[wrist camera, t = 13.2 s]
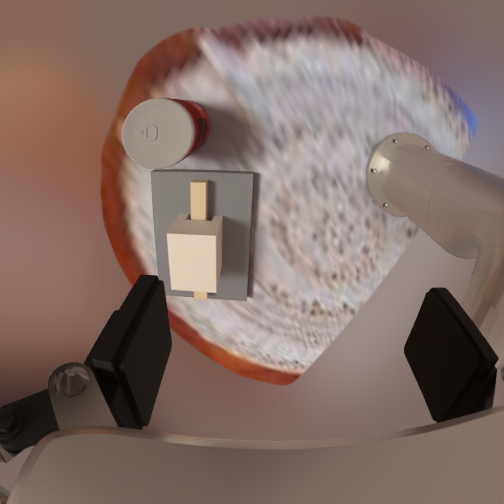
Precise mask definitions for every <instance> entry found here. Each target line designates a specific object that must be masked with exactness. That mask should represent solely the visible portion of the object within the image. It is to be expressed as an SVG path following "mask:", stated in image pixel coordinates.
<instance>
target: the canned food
mask: <svg viewBox="0 0 504 504" xmlns="http://www.w3.org/2000/svg"><path fill="white" fill-rule="evenodd" d="M209 129H210V127H209V120H208V117H207V115H206V113H205V111H204V110H203V109H202V108H201V107H200V106H199V105H197V104H195V103H193V102H190V101H187V100H179V99H170V98H155V99H150V100H147V101H144V102H142V103H140V104H139V105H137V106H136V107H135V108H134V109H133V110H132V111H131V112H130V113H129V114H128V116H127V118H126V120H125V122H124V125H123V129H122V141H123V145H124V148H125V150H126V152H127V154H128V155H129V156H130V157H131V159H132V160H134V161H135V162H136V163H137V164H139V165H141V166H143V167H146V168H150V169H163V168H167V167H171V166H173V165H175V164H177V163H179V162H180V161H182V160H183V159H185V158H186V157H187V156H189V155H190V154H192V153H193V152H194V151H196V150H197V149H199V148H200V147H201V146H202V145H203V144H204V142H205V141H206V139H207V137H208V134H209Z"/></svg>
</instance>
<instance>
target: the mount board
mask: <svg viewBox="0 0 504 504" xmlns="http://www.w3.org/2000/svg"><path fill="white" fill-rule="evenodd" d="M253 174H254V172H245V171H222V170H153V171H151V184H152V203H153V219H154V232H155V244H156V255H157V265H158V274H159V280H163V282H164V287H165V295H172V296H184V297H194V299H203V300H207V298H210V299H225V300H241V301H247V285H248V266H249V247H250V229H251V210H252V192H253ZM180 214H189V220H202V221H212V219H213V216H214V215H218V216H223V219H222V269H221V274H220V278H219V283H218V288H217V292H216V293H211V292H196V291H183V290H171V279H170V269H169V257H168V244H167V232H168V231H169V229H170V228H171V227H172V225H173V224H174V222H175V221H176V219H177V218H178V216H179V215H180Z"/></svg>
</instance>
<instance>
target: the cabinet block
mask: <svg viewBox="0 0 504 504" xmlns="http://www.w3.org/2000/svg"><path fill="white" fill-rule="evenodd" d="M222 219H223V216H218V215H214V216H213V219H212V221H202V220H189V214H180V215H179V216H178V218H177V219H176V221H175V222H174V224H173V225H172V227H171V228H170V229H169V231H168V232H167V244H168V257H169V269H170V279H171V290H183V291H196V292H211V293H216V292H217V288H218V283H219V278H220V274H221V269H222Z"/></svg>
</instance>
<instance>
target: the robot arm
mask: <svg viewBox="0 0 504 504" xmlns="http://www.w3.org/2000/svg"><path fill="white" fill-rule="evenodd" d="M393 139H394V142H393ZM425 146H426V148H425ZM372 168H373V171H371V169H372ZM366 181H367V187H368V190H369V193H370V195H371V197H372V198H373V200H374V202H375V203H376V204H377V205H378V206H379V207H380V208H381V209H382V210H384V211H385V212H387V213H389V214H391V215H394V216H400V217H406V216H407V217H408V218H409V219H410V220H412V221H413V222H414V223H415V224H416V225H417V226H419V227H420V228H421V229H422V230H423V231H424V232H425V233H426V234H428V235H429V236H430V237H431V238H432V239H433V240H434V241H435V242H436V243H438V244H439V245H440V246H441V247H442V248H443V249H444V250H446V251H447V252H448V253H450V254H452V255H454V256H456V257H460V258H465V259H472V258H477V261H476V264H475V268H474V270H473V273H472V277H471V280H470V283H469V285H468V288H467V290H466V293H465V295H464V298H463V300H462V302H461V305H460V304H459V303H458V302H457V301H456V299H455V298H454V297H453V296H452V294H450V292H449V291H448V290H447V289H446V288H432V289H430V291H429V292H427V293H426V295H425V298H424V301H423V303H422V306H421V308H420V311H419V313H418V316H417V318H416V321H415V323H414V325H413V328H412V330H411V333H410V335H409V337H408V339H407V342H406V344H405V346H404V354H405V356H406V358H407V361H408V363H409V365H410V367H411V369H412V372H413V374H414V376H415V378H416V381H417V382H418V385H419V387H420V390H421V392H422V394H423V396H424V399H425V401H426V404H427V406H428V409H429V411H430V413H431V416H432V418H433V420H434V421H436V422H437V423H435V424H431V425H426V426H422V427H416V428H412V429H406V430H400V431H395V432H389V433H382V434H375V435H367V436H359V437H350V438H338V439H325V440H305V441H248V440H246V441H245V440H228V439H216V438H204V437H193V436H184V435H175V434H168V433H162V432H154V431H146V430H142V427H143V426H148V424H149V421H150V418H151V414H152V411H153V407H154V404H155V401H156V397H157V394H158V390H159V387H160V384H161V381H162V377H163V374H164V371H165V368H166V364H167V361H168V358H169V355H170V351H171V346H172V339H171V332H170V326H169V318H168V311H167V303H166V295H165V287H164V282H163V280H159V278H158V276H155V275H140V276H139V278H138V279H137V281H136V283H135V284H134V286H133V288H132V289H131V291H130V292H129V294H128V296H127V297H126V299H125V301H124V302H123V304H122V305H121V307H120V309H119V310H116V311H114V312H113V314H112V315H111V317H110V319H109V320H108V322H107V324H106V325H105V327H104V329H103V330H102V332H101V334H100V335H99V337H98V339H97V341H96V342H95V344H94V346H93V348H92V349H91V351H90V353H89V355H88V357H87V358H86V360H85V362H84V364H82V363H79V362H70V363H65V364H63V365H61V366H59V367H57V368H56V369H55V370H54V371H53V372H52V373H51V375H50V376H49V379H48V389H46V390H43V391H41V392H38V393H35V394H33V395H30V396H28V397H25V398H23V399H20V400H18V401H15V402H13V403H10V404H7V405H4V406H2V407H1V408H0V504H504V178H503V177H500V176H497V175H495V174H492V173H490V172H487V171H484V170H482V169H480V168H477V167H474V166H472V165H469V164H466V163H464V162H461V161H459V160H456V159H453V158H451V157H448V156H445V155H442V154H440V153H437V152H436V151H435V150H434V148H433V147H432V146H431V144H429V143H428V142H427V141H426V140H425V139H423V138H422V137H420V136H417V135H415V134H411V133H397V134H393V135H390V136H388V137H386V138H385V139H384V140H382V141H381V142H380V143H379V144H378V145H377V146H376V147H375V148H374V150H373V152H372V154H371V155H370V158H369V161H368V164H367V169H366ZM383 203H385V204H384V205H383Z"/></svg>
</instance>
